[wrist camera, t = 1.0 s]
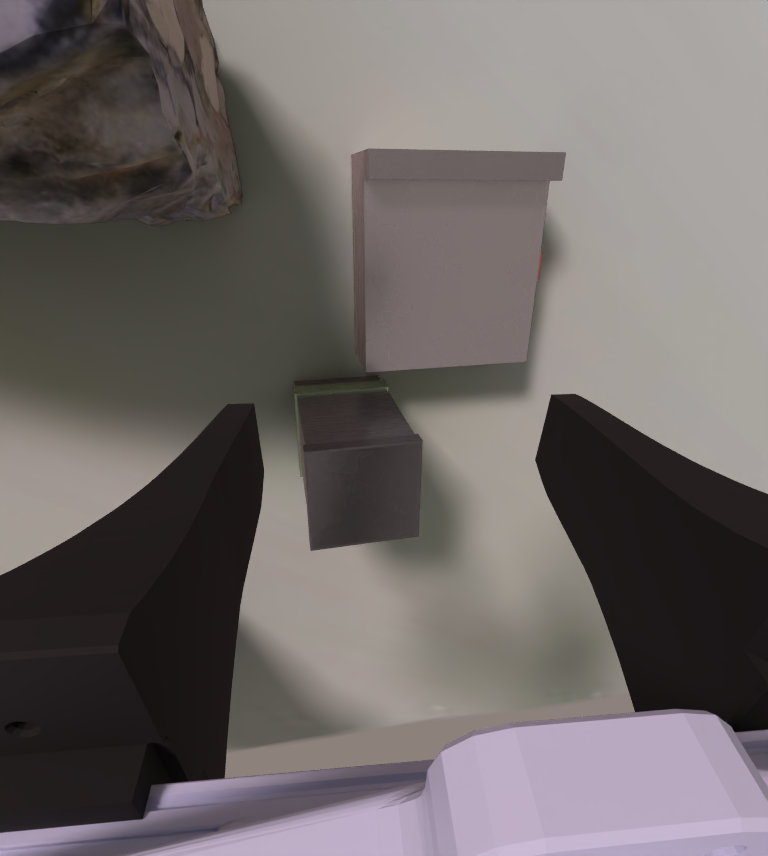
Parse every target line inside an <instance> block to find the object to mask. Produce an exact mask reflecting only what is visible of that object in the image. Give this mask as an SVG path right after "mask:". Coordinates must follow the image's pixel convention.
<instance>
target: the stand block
mask: <svg viewBox="0 0 768 856" xmlns="http://www.w3.org/2000/svg"><path fill="white" fill-rule="evenodd" d="M565 156H566V153H563V152H512V151H461V150H410V149H366V150H363V151H360V152H358V153H355V154H352V155H351V157H352V206H353V255H354V304H355V353H356V355H357V357H358V359H359V361H360V362H361V364H362V366H363V368H364V370H365V371H366V372H381V371H396V370H410V369H425V368H440V367H455V366H470V365H485V364H499V363H514V362H526V360H527V352H528V344H529V337H530V329H531V321H532V313H533V306H534V298H535V290H536V283H537V280H539V274H540V267H541V259H542V252H541V244H542V237H543V229H544V221H545V214H546V206H547V198H548V190H549V183H550V181H562V178H563V170H564V163H565Z"/></svg>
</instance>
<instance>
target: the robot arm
mask: <svg viewBox="0 0 768 856" xmlns="http://www.w3.org/2000/svg"><path fill="white" fill-rule="evenodd" d="M535 461H536V464H537V467H538V470H539V473H540V476H541V480H542V482H543V485H544V488H545V491H546V494H547V496H548V498H549V500H550V502H551V504H552V506H553V508H554V510H555V512H556V514H557V516H558V518H559V520H560V522H561V524H562V526H563V528H564V529H565V531H566V533H567V535H568V537H569V539H570V541H571V543H572V545H573V547H574V549H575V551H576V553H577V555H578V557H579V559H580V560H581V562H582V564H583V566H584V568H585V571H586V573H587V575H588V577H589V579H590V581H591V584H592V586H593V589H594V592H595V594H596V597H597V599H598V602H599V605H600V607H601V610H602V613H603V615H604V618H605V621H606V624H607V626H608V629H609V632H610V635H611V638H612V641H613V644H614V647H615V649H616V652H617V655H618V658H619V661H620V664H621V668H622V671H623V674H624V677H625V681H626V684H627V687H628V690H629V693H630V696H631V700H632V703H633V707H634V710H635V712H633V713H621V714H609V715H598V716H586V717H575V718H562V719H551V720H540V721H527V722H516V723H508V724H503V725H498V726H493V727H489V728H484V729H479V730H474V731H472V732H470V733H468V734H466V735H464V736H462V737H460V738H458V739H456V740H454V741H452V742H450V743H448V744H446V745H445V746H444V748H443V749H442V751H441V752H440V753H439V755H438V756H437V757H436V759H434V760H423V761H412V762H402V763H390V764H379V765H368V766H356V767H345V768H335V769H324V770H313V771H303V772H302V771H301V772H291V773H279V774H269V775H258V776H246V777H234V778H225V764H226V750H227V736H228V724H229V712H230V700H231V688H232V678H233V668H234V658H235V648H236V638H237V629H238V621H239V612H240V604H241V598H242V592H243V587H244V582H245V578H246V573H247V569H248V564H249V560H250V555H251V551H252V546H253V542H254V537H255V533H256V528H257V524H258V519H259V514H260V510H261V502H262V492H263V479H264V467H263V460H262V454H261V447H260V440H259V434H258V427H257V420H256V414H255V407H254V404H227V405H226V406H225V407H224V408H223V410H222V411H221V412H220V413H219V414H218V415H217V416H216V417H215V418H214V419H213V420H212V421H211V423H210V424H209V425H208V426H207V427H206V428H205V429H204V430H203V431H202V432H201V434H200V435H199V436H198V437H197V438H196V439H195V440H194V441H193V442H192V443H191V444H190V445H189V446H188V447H187V448H186V449H185V450H184V451H183V452H182V453H181V454H180V455H179V456H178V457H177V458H176V459H175V460H174V461H173V462H172V463H171V464H170V465H169V466H168V467H167V468H166V469H164V470H163V471H162V472H161V473H160V474H159V475H158V476H157V477H156V478H155V479H153V480H152V481H151V482H150V483H149V484H148V485H146V486H145V487H144V488H143V489H141V490H140V491H139V492H138V493H136V494H135V495H134V496H132V497H131V498H130V499H128V500H127V501H126V502H124V503H123V504H122V505H120V506H119V507H118V508H116V509H115V510H113V511H112V512H110V513H109V514H107V515H106V516H104V517H103V518H101V519H100V520H98V521H97V522H95V523H93V524H92V525H90V526H89V527H87V528H86V529H84V530H83V531H81V532H80V533H78V534H77V535H75V536H73V537H72V538H70V539H68V540H67V541H65V542H63V543H61V544H60V545H58V546H56V547H54V548H53V549H51V550H49V551H47V552H45V553H43V554H42V555H40V556H38V557H36V558H34V559H32V560H30V561H29V562H27V563H25V564H23V565H21V566H19V567H17V568H15V569H13V570H11V571H9V572H7V573H5V574H2V575H0V856H768V494H766V493H764V492H761V491H758V490H756V489H753V488H751V487H748V486H746V485H744V484H741V483H739V482H736V481H734V480H732V479H730V478H727V477H725V476H723V475H721V474H719V473H716V472H714V471H712V470H710V469H708V468H706V467H703V466H701V465H699V464H697V463H695V462H693V461H691V460H689V459H688V458H686V457H684V456H682V455H680V454H678V453H676V452H675V451H673V450H671V449H669V448H667V447H665V446H663V445H662V444H660V443H658V442H657V441H655V440H653V439H651V438H650V437H648V436H646V435H644V434H643V433H641V432H639V431H638V430H636V429H634V428H633V427H631V426H630V425H628V424H626V423H625V422H623V421H621V420H620V419H618V418H616V417H615V416H613V415H612V414H610V413H608V412H607V411H605V410H603V409H602V408H600V407H598V406H597V405H595V404H593V403H592V402H590V401H588V400H586V399H584V398H583V397H581V396H578V395H576V394H559V395H551V398H550V402H549V406H548V410H547V415H546V419H545V423H544V427H543V431H542V435H541V439H540V443H539V447H538V451H537V455H536V459H535Z"/></svg>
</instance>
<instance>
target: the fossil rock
mask: <svg viewBox="0 0 768 856" xmlns="http://www.w3.org/2000/svg"><path fill="white" fill-rule="evenodd" d="M218 64H219V62H218V57H217V53H216V48H215V43H214V38H213V36H212V33H211V30H210V27H209V24H208V21H207V18H206V15H205V12H204V9H203V4H202V0H0V221H18V222H30V223H47V224H75V223H101V222H106V221H113V220H120V219H128V218H136V219H138V220H140V221H142V222H144V223H145V224H147V225H160V226H163V225H166V224H169V223H172V222H174V221H177V220H191V219H194V220H199V221H205V220H210V219H215V218H218V217H221V216H224V215H226V214H229V213H231V212H230V210H229V206H233V205H239V204H241V203H242V190H241V183H240V177H239V171H238V165H237V159H236V153H235V148H234V144H233V140H232V135H231V131H230V127H229V122H228V118H227V114H226V104H225V92H224V89H223V87H222V84H221V82H220V79H219V76H218V74H217V70H218Z"/></svg>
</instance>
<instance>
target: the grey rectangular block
mask: <svg viewBox="0 0 768 856" xmlns="http://www.w3.org/2000/svg"><path fill="white" fill-rule="evenodd" d="M294 385H295V386H294V387H293V391H294V404H295V417H296V430H297V443H298V456H299V468H300V475H301V477H303V482H304V489H305V496H306V503H307V513H308V527H309V541H310V549H311V551H313V550H320V549H328V548H335V547H343V546H350V545H357V544H365V543H372V542H380V541H387V540H395V539H402V538H410V537H417V536H419V512H420V488H421V464H422V439H421V438H420V436H419V434H414V433H413V431H412V430H411V428H410V426H409V425H408V423H407V421H406V420H405V418H404V417H403V415H402V413H401V412H400V410H399V409H398V407H397V405H396V404H395V402H394V400H393V399H392V397H391V396H390V394H389V392H388V385H387V384H386V382H385V381H384V380H381V379H380V378H379V376H366V377H351V378H337V379H322V380H308V381H294Z"/></svg>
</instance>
